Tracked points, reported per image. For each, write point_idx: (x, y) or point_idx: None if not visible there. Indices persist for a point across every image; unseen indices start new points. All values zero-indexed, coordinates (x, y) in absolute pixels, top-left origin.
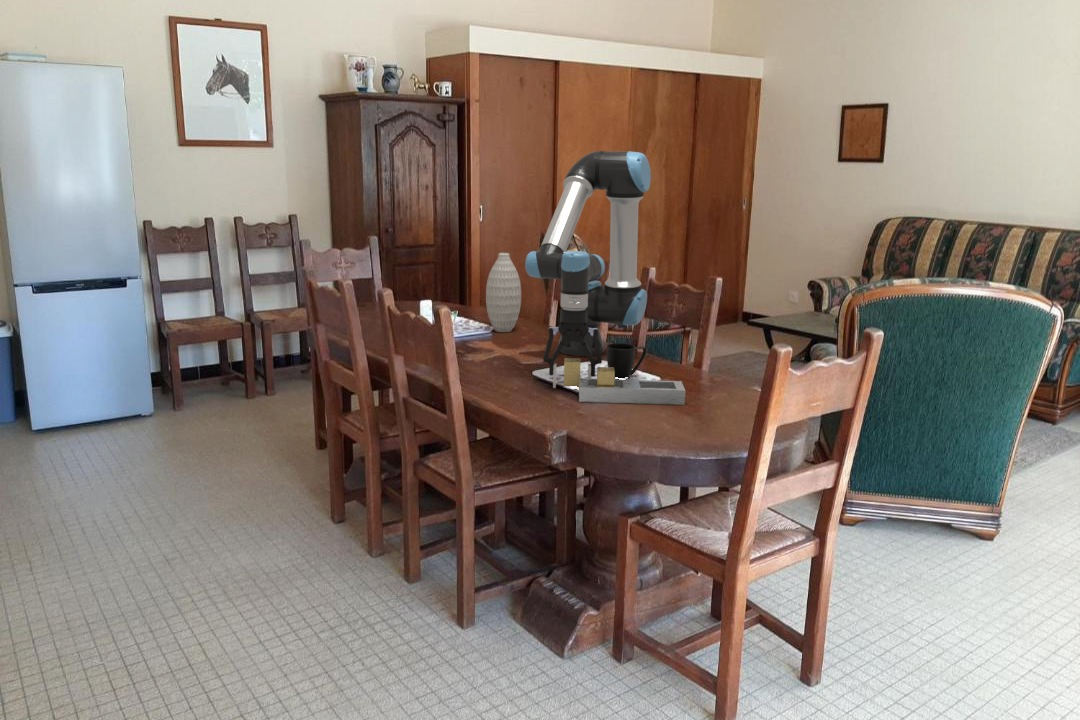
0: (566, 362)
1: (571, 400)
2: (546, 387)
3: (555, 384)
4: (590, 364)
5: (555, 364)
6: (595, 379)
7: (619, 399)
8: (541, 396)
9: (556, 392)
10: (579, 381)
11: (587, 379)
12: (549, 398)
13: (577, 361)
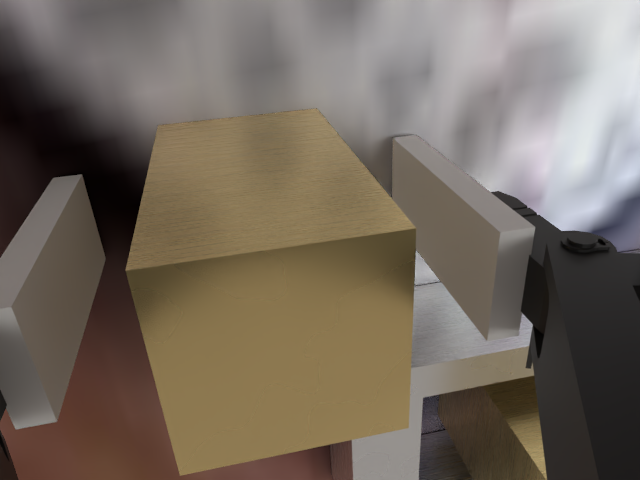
0: (211, 464)
1: (282, 465)
2: (4, 236)
3: (98, 276)
4: (523, 260)
5: (30, 392)
6: (491, 371)
7: None
8: (54, 458)
9: (142, 347)
10: (352, 458)
11: (422, 389)
12: (127, 475)
13: (366, 397)
